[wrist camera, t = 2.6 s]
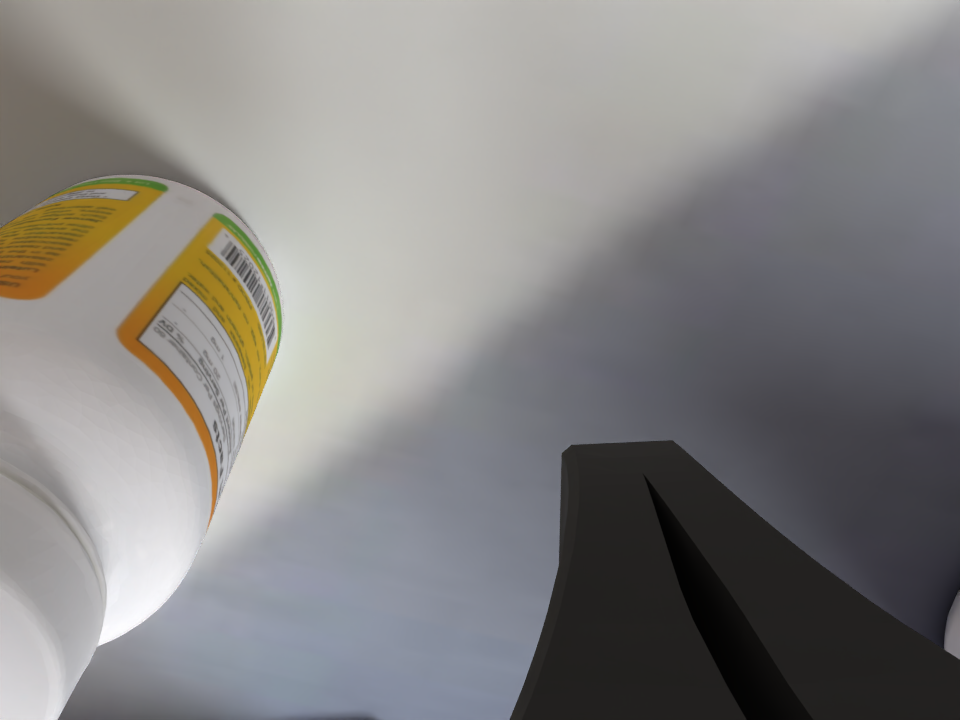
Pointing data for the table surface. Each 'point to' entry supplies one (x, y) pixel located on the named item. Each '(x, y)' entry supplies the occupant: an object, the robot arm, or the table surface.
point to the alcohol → (953, 629)
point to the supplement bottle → (117, 412)
